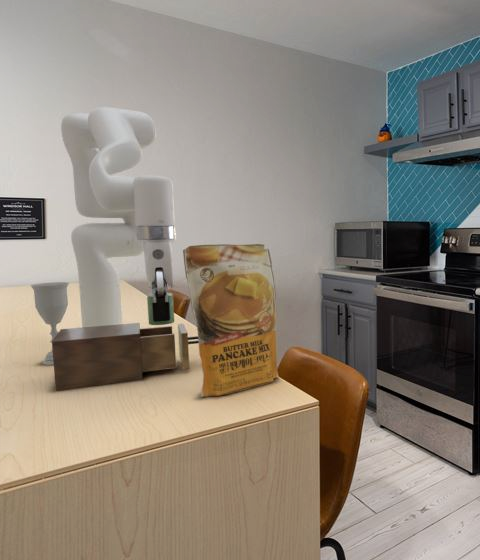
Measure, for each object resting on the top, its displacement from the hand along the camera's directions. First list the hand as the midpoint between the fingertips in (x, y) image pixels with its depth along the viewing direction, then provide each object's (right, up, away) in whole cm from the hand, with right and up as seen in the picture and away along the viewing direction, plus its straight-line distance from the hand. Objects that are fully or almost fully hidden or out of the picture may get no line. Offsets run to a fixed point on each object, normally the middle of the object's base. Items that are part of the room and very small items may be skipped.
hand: (161, 317), depth 110 cm
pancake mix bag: (+21, -13, -10) cm, 26 cm away
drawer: (0, -10, +1) cm, 11 cm away
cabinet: (-10, -12, -4) cm, 16 cm away
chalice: (-28, -11, +7) cm, 30 cm away
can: (0, -1, 0) cm, 1 cm away
